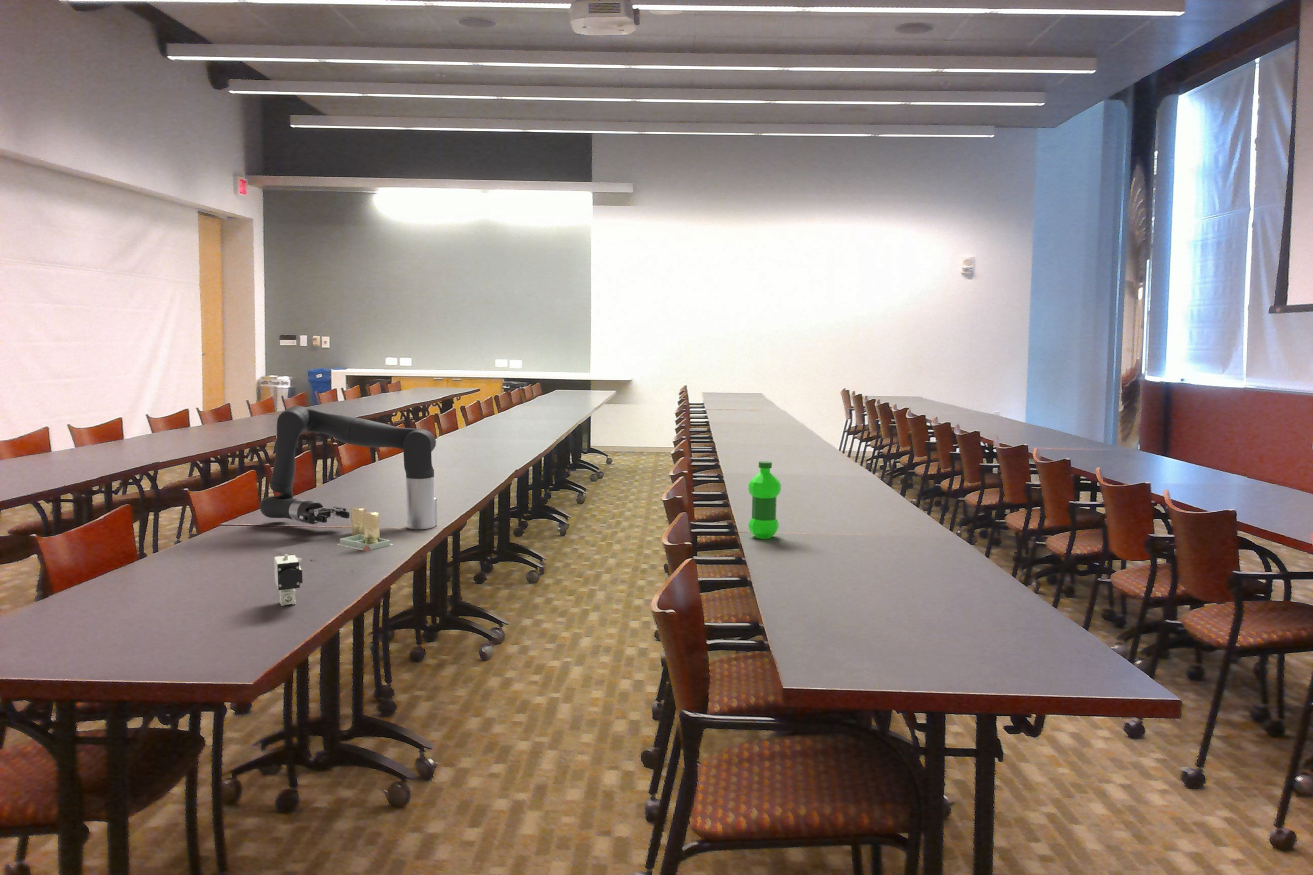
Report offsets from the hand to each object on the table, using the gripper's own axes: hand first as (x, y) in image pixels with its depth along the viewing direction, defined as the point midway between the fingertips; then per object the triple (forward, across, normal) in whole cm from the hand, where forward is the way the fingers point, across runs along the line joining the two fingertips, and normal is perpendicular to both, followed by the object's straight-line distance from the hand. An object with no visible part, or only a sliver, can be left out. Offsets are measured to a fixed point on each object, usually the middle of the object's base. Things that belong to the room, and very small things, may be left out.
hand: (337, 517), depth 277 cm
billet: (+11, 0, +6) cm, 12 cm away
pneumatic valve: (+52, -52, +6) cm, 74 cm away
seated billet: (+25, -7, +4) cm, 27 cm away
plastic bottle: (+114, +80, +6) cm, 139 cm away
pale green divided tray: (+22, -7, +6) cm, 24 cm away
